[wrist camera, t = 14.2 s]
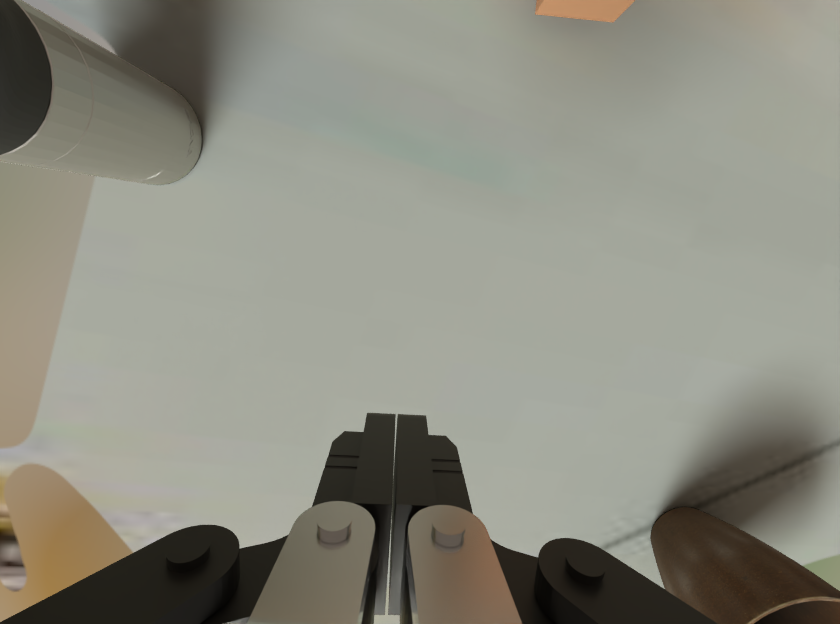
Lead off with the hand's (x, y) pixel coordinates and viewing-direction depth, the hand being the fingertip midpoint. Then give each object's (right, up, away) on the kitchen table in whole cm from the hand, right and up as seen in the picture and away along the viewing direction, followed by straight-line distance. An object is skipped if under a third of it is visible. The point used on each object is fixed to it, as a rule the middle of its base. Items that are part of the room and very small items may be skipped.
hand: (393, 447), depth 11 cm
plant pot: (+32, -24, +40) cm, 57 cm away
